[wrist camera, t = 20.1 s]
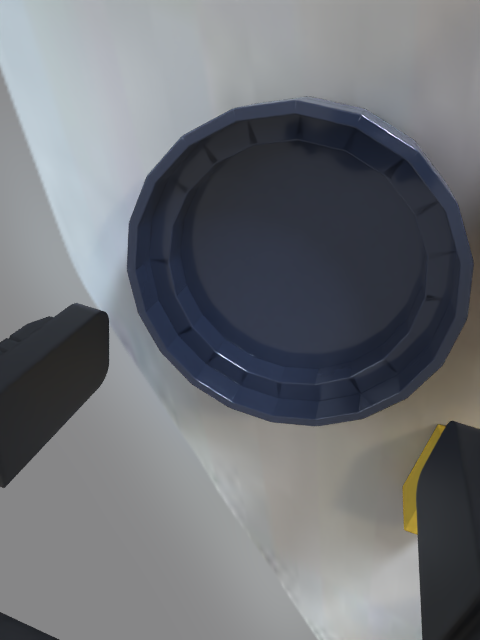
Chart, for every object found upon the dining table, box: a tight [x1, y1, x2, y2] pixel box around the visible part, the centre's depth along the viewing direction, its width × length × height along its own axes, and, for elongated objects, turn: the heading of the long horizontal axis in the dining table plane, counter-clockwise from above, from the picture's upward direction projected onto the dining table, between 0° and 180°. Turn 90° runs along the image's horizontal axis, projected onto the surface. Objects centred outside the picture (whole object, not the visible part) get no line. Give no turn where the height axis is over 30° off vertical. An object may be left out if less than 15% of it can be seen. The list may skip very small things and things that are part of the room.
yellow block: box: [403, 424, 446, 535], centre depth 31 cm, size 7×5×4 cm, turn 170°
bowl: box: [127, 96, 474, 426], centre depth 27 cm, size 19×19×4 cm
